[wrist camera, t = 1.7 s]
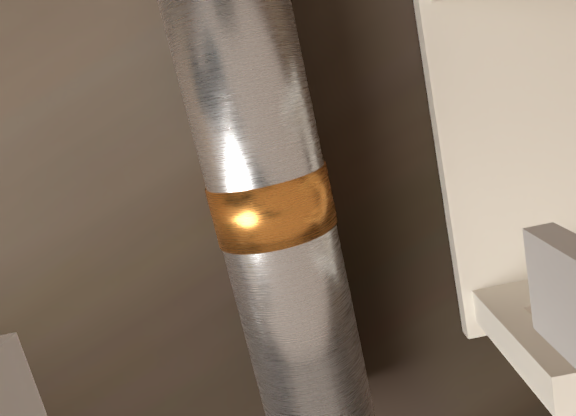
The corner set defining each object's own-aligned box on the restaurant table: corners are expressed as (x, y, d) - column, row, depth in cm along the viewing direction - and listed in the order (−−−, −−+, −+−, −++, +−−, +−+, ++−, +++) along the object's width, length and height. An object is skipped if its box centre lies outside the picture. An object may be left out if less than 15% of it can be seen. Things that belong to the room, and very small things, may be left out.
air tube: (167, -40, 27) (115, -70, 21) (283, -71, 26) (263, -113, 20) (276, 394, 33) (261, 467, 27) (373, 382, 32) (380, 455, 26)
